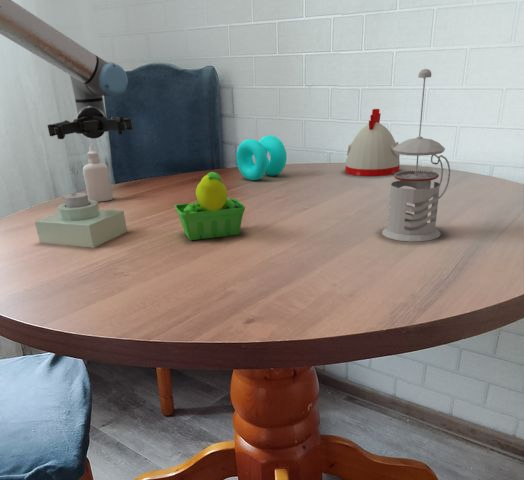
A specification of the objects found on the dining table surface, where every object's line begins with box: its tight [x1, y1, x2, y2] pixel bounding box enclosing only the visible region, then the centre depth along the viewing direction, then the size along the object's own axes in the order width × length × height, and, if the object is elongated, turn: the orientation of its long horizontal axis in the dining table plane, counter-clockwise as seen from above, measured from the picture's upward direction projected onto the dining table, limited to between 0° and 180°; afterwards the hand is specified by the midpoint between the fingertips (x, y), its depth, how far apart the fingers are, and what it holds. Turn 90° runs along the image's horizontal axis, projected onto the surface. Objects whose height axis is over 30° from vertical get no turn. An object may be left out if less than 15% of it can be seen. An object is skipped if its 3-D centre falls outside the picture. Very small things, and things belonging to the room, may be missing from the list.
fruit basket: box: [174, 171, 246, 241], centre depth 94 cm, size 11×9×11 cm
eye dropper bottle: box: [82, 145, 114, 203], centre depth 123 cm, size 4×6×12 cm
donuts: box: [235, 134, 287, 181], centre depth 139 cm, size 10×10×10 cm
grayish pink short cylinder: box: [63, 192, 89, 208], centre depth 96 cm, size 4×4×2 cm
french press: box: [381, 68, 451, 242], centre depth 87 cm, size 10×12×25 cm
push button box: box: [34, 200, 128, 249], centre depth 98 cm, size 12×10×6 cm
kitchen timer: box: [344, 108, 401, 177], centre depth 139 cm, size 14×14×15 cm
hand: (90, 130), depth 128 cm, fingers open, 13 cm apart
